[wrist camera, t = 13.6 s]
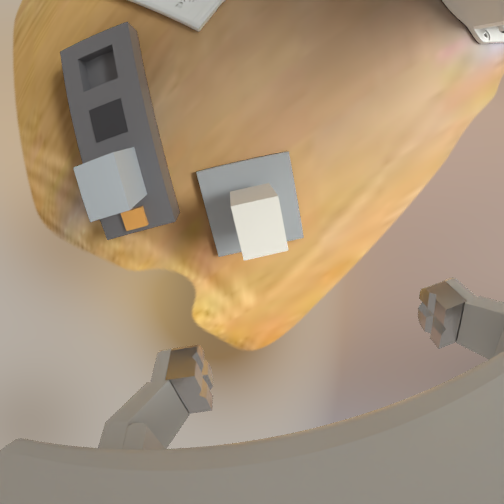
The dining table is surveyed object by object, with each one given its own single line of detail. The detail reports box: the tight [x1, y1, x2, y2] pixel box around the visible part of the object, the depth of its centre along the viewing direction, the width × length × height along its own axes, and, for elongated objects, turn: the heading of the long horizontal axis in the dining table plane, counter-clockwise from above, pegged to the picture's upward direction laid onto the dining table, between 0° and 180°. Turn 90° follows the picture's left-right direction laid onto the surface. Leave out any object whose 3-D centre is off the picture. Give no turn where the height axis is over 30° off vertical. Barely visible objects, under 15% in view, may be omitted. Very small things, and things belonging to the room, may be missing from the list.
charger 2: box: [230, 183, 288, 260], centre depth 30 cm, size 4×5×8 cm
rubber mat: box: [196, 151, 304, 257], centre depth 34 cm, size 10×10×1 cm
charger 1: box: [73, 147, 147, 222], centre depth 26 cm, size 4×5×6 cm
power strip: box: [60, 22, 180, 240], centre depth 28 cm, size 8×22×4 cm, turn 12°
